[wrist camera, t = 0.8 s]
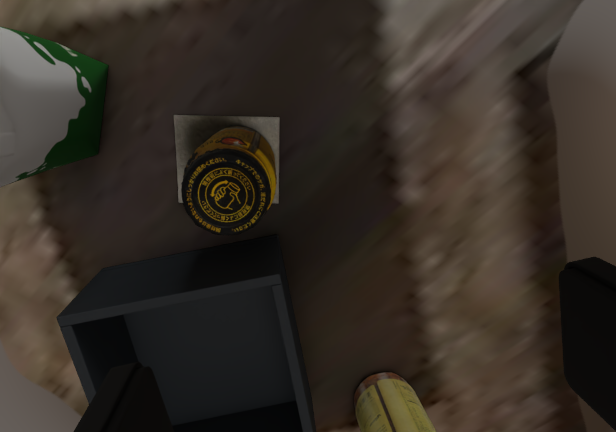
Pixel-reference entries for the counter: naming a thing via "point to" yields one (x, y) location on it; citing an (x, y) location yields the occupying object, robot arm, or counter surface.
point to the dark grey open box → (199, 336)
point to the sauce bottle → (389, 406)
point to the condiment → (227, 170)
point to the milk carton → (46, 105)
